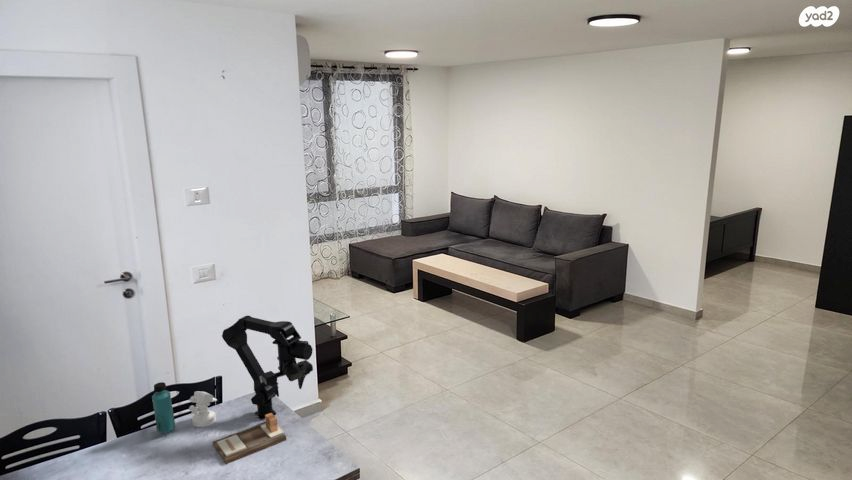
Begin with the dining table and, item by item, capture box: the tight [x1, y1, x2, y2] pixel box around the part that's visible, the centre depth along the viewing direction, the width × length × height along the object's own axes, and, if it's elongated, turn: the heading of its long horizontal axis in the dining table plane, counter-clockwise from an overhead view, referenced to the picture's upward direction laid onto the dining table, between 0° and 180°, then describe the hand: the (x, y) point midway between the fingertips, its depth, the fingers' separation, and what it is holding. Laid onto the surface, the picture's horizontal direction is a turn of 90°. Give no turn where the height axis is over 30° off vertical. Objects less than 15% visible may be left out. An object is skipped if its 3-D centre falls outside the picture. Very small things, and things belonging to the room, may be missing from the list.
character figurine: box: [188, 390, 218, 428], centre depth 208 cm, size 9×10×12 cm
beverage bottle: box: [151, 381, 176, 434], centre depth 200 cm, size 6×7×20 cm
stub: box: [260, 413, 285, 438], centre depth 199 cm, size 10×5×6 cm, turn 39°
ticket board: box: [212, 421, 287, 465], centre depth 194 cm, size 14×22×2 cm, turn 128°
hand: (289, 392), depth 206 cm, fingers open, 9 cm apart
